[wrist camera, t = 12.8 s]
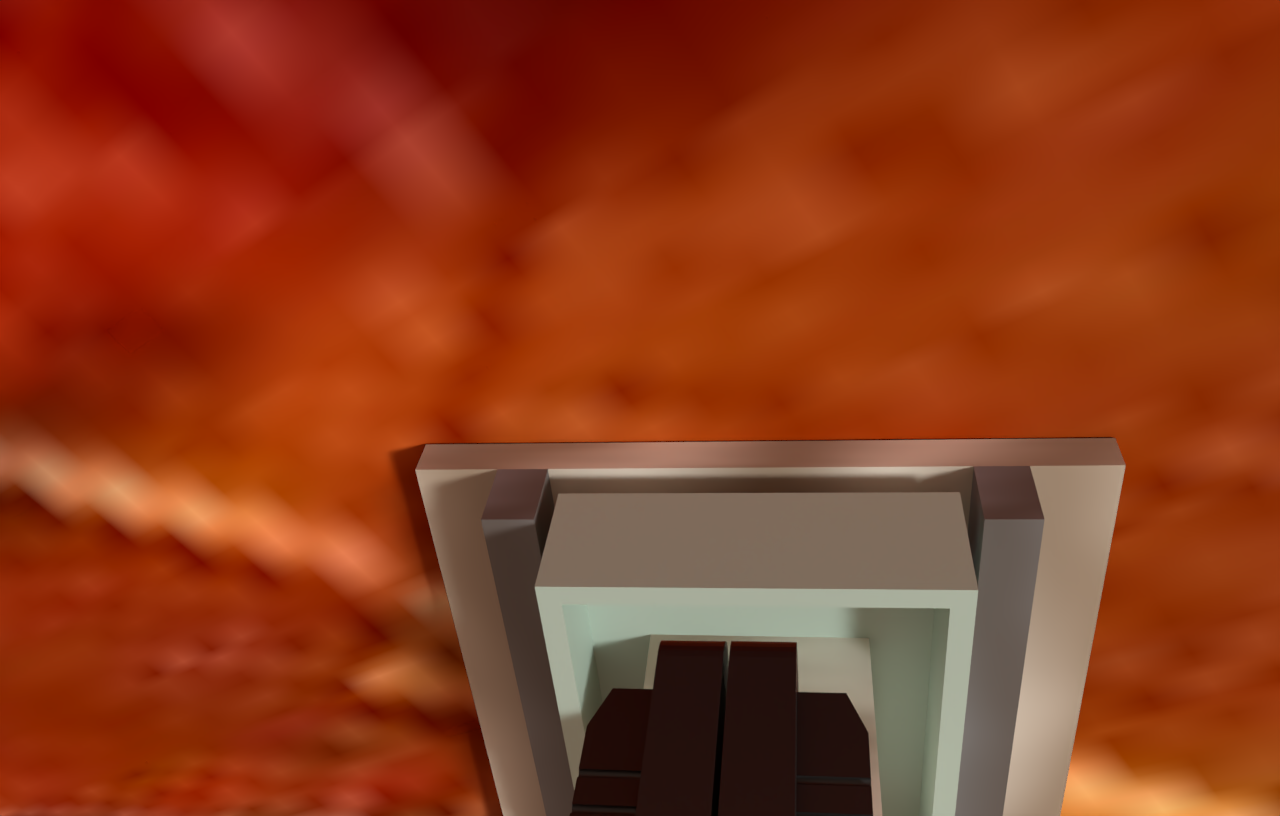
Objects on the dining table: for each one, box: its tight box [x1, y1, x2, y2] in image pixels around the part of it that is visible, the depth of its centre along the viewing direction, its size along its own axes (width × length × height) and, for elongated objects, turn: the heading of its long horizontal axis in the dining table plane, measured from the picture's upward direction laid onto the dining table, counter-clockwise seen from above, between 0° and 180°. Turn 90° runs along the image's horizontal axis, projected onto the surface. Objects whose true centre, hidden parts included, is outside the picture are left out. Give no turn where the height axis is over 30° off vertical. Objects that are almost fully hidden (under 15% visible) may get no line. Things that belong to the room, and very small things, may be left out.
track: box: [415, 438, 1126, 816], centre depth 32 cm, size 16×23×3 cm
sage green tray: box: [535, 492, 978, 816], centre depth 28 cm, size 9×12×4 cm
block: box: [643, 634, 882, 816], centre depth 26 cm, size 5×5×5 cm
